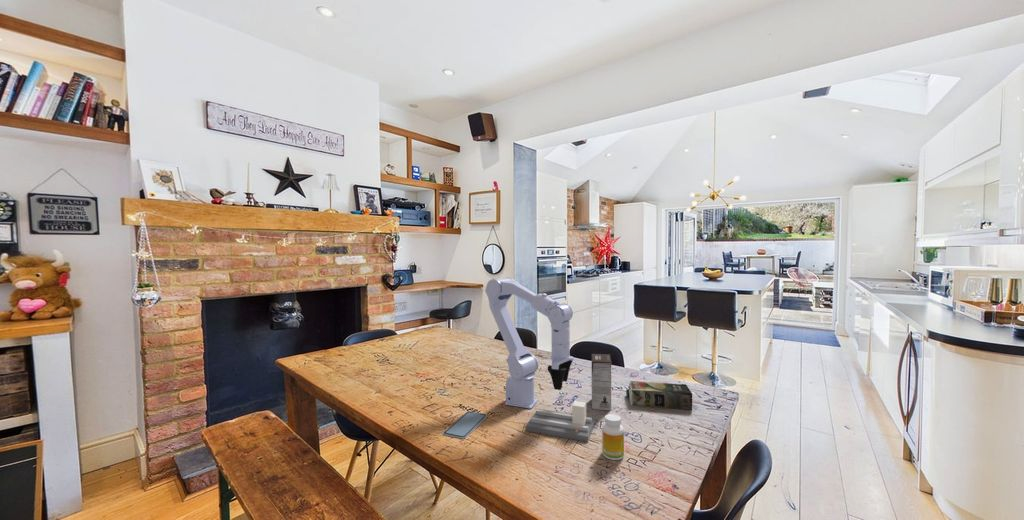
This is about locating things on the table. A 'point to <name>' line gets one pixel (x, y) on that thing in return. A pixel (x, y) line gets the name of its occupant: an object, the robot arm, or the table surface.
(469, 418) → the smartphone
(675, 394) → the juice carton
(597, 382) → the coffee box
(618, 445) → the supplement bottle
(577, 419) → the fader tab
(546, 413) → the grey slider track
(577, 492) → the table surface
